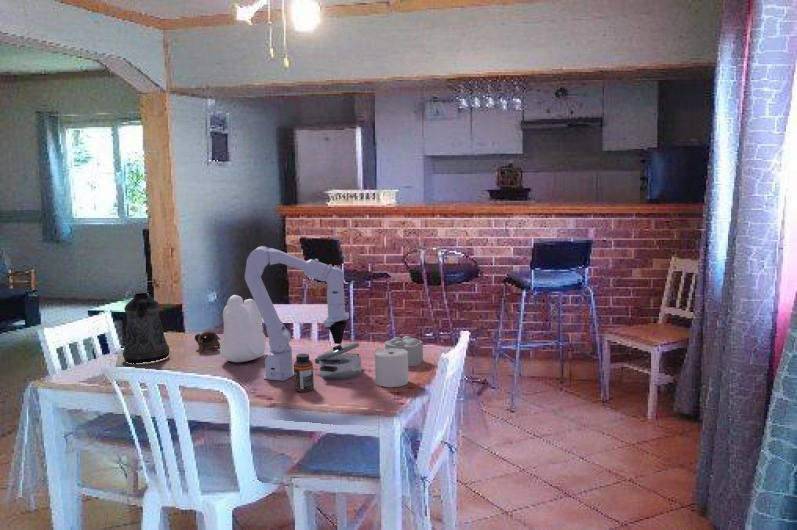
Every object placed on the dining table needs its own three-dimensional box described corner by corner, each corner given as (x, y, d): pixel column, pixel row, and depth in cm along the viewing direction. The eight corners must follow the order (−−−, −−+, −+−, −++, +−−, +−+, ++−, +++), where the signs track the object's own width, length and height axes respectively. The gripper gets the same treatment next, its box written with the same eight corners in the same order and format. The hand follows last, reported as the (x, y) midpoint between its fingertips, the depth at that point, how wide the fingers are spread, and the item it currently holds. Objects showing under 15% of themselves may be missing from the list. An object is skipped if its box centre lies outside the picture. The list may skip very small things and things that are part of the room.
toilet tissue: (400, 389, 223) (399, 358, 222) (366, 385, 228) (364, 354, 227) (414, 379, 233) (413, 349, 231) (381, 375, 238) (379, 346, 236)
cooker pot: (346, 383, 230) (345, 368, 230) (303, 379, 237) (303, 364, 236) (371, 367, 248) (370, 353, 247) (330, 364, 254) (330, 350, 253)
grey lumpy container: (414, 367, 246) (414, 343, 245) (380, 364, 251) (379, 340, 250) (425, 359, 255) (424, 336, 254) (392, 357, 260) (391, 333, 259)
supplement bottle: (293, 388, 227) (291, 353, 226) (311, 385, 229) (309, 351, 228) (297, 393, 222) (295, 358, 220) (316, 391, 224) (314, 355, 222)
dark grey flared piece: (157, 351, 280) (152, 288, 276) (181, 359, 266) (176, 293, 263) (115, 360, 269) (110, 294, 265) (139, 369, 255) (133, 300, 251)
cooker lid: (347, 353, 231) (344, 346, 231) (309, 363, 237) (307, 356, 237) (366, 342, 244) (364, 335, 244) (330, 352, 251) (328, 346, 251)
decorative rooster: (246, 369, 251) (242, 299, 247) (210, 365, 257) (205, 297, 254) (286, 351, 273) (283, 287, 270) (252, 348, 280) (248, 285, 276)
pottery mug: (227, 348, 283) (224, 333, 278) (212, 364, 276) (208, 349, 271) (203, 338, 287) (199, 323, 282) (187, 354, 281) (183, 339, 275)
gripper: (336, 308, 230) (338, 349, 232) (356, 300, 244) (358, 338, 246) (317, 307, 233) (319, 348, 235) (338, 299, 246) (339, 337, 248)
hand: (338, 343), depth 240 cm, fingers closed
